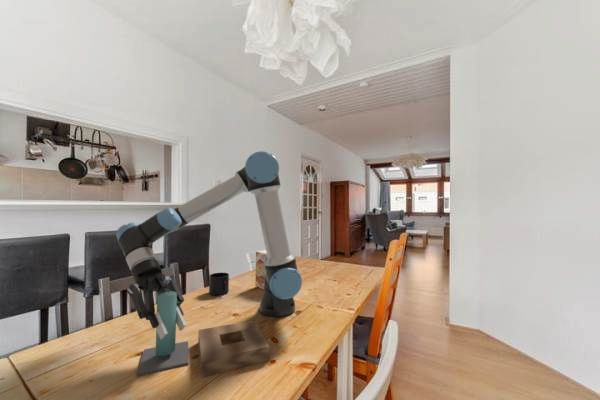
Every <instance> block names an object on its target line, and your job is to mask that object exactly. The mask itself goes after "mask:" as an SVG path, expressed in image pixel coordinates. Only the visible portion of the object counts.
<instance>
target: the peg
mask: <svg viewBox="0 0 600 400" xmlns="http://www.w3.org/2000/svg"><path fill="white" fill-rule="evenodd" d="M176 305H177V293H176V292H173V291H170V292H163V293H160V294H159V293H157V297H156V313H158V312H159V314H160V317H161V319H162V321H163V323H164V326H165V328H166V330H167V335H166V336H165V337H164V338H163V339H160V337H159V334H158V332H157V330H156V329H155V331H156V332H155V347H156V355H159V356H164V355H168V354H170V353H172V352H173V351H174V350H175V343H176V336H177V334H176V331H177V329H176V328H177V323H176Z"/></svg>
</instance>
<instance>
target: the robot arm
mask: <svg viewBox="0 0 600 400" xmlns="http://www.w3.org/2000/svg"><path fill="white" fill-rule="evenodd" d="M244 165H245V166H244V167H243V168H241V169H240V170H237V171H236V172H235V175H234V176H232V177H230V178H229V179H227V180H225V181H223V182H221V183H219V184H218V185H216V186H214V187H212V188H210V189H208V190H207V191H204V192H202V193H201V194H199V195H197V196H196V197H194V198H192V199H190V200H189V201H187V202H185V203H182V204H181V205H179V206H177V207H176V208H175V207H174V208H172V207H170V206H169V207H165V208H164V209H163V210H159V211H158V212H157V213H155V214H154V215H152V216H150V217H149V218H148V219H146V220H145V221H143V222H142V223H138V222H129V223H127V224H123V225H121V226H119V228H118V229H117V230H116V233H115V236H116V238H117V242H118V243H117V244H118V245H119V247H120V249H121V251H122V253H123V256H124V257H125V261H126V263H127V266H128V268H129V270H130V273H131V276H132V277H133V280H134V284H133V283H132V284H129V286H128V288H127V289H126V293H127V294H128V295H129V296H130V297H131V300H132V304H133V305H134V308H135V310H136V313H137V315H138V318H139V319H140V320H143V319H145V320H146V321H149V323H150V326H151V328H152V329H155V331H156V330H157V332H158V334H159V337H160V339H163V338H164V337H165V336H166V335H167V330H166V328H165V326H164V323H163V321H162V319H161V317H160V314H159V312H158V313H157V312H156V308H155V301H154V293H153V292H157V294H160V293H163V292H170V291H173V292H176V293H177V305H176V327H178V330H179V331H180V332H181V331H183V330H184V329H185V327H186V326H187V323H186V320H185V319H184V317H183V316H184V311H183V309H182V307H181V305H182V304H183V302H184V301H185V298H184V296H183V294H182V292H181V291H180V289H179V288H180V287H179V286H178V284H177V282H176V279H175V278H176V277H175V275H174V274H171V275H170V276H168V275H167V276H166V275H165V274H164V273H163V272H162V268H161V266H160V263H159V262H158V260H157V257H156V255H155V253H154V251H153V249H152V247H151V245H152V244H154V243H155V242H156V241H158V240H160V239H161V238H163V237H164V236H167V235H168V234H171V233H174V232H176V231H179V230H180V229H182V228H183V227H185V226H186V225H188V224H190V223H192V222H193V221H195V220H197V219H199V218H200V217H202V216H204V215H205V214H208V213H209V212H211V211H213V210H214V209H217V208H218V207H220V206H222V205H223V204H225V203H227V202H229V201H231V200H233V199H234V198H236V197H238V196H240V195H241V194H243V193H250V194H253V195H254V197H255V198H254V199H255V203H256V206H257V207H256V208H257V212H258V216H259V217H258V218H259V222H260V226H261V227H260V228H261V232H262V236H263V237H262V238H263V240H264V241H263V242H264V247H265V250H266V252H267V256H266V257H265V262H264V264H265V272H264V290H263V294H262V296H261V300H260V303H259V312H260V314H262V315H264V316H267V317H274V318H275V317H277V318H278V317H280V316H281V317H286V315H287V316H289V314H290V315H292V314H293V313H294V312H295V311H296V303H295V299H294V297H296V296H297V295H298V293H299V292H300V290H301V289H302V285H303V278H302V274H301V272H299V270H298V265H297V260H296V256H295V255H294V254H292V253H291V252H290V246H289V240H288V237H287V236H288V235H287V231H286V226H285V222H284V215H283V212H282V207H281V201H280V195H279V192H278V191H279V189H280V188H281V182H280V177H279V173H280V165H279V162H278V160H277V157H275V156H274V155H273V154H272V153H270V152H268V151H264V150H261V151H255V152H254V153H252V154H250V156H248V158H247V159H246V161H245V164H244ZM139 289H140V290H139ZM141 291H142V292H143V297H144V300H143V297H142V295H141ZM144 301H145V302H144ZM291 313H292V314H291Z"/></svg>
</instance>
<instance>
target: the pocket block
mask: <svg viewBox="0 0 600 400" xmlns="http://www.w3.org/2000/svg"><path fill="white" fill-rule="evenodd" d="M197 342H198V354H199V356H198V357H199V364H200V365H199V366H200V376H201V378H205V377H209V376H212V375H216V373H217V374H220V372H221V373H225V372H228V371H232V370H237V369H241V368H245V367H250V366H253V365H256V364H261V363H264V361H266V362H269V361H270V347H271V346H270V344H269V343H268V341H267V340H266V338H265V336H264V334H263V333H262V330H261V329H260V328H259V326H258V325H257V323H256V322H255V319H252V320H247V321H242V322H237V323H231V324H225V325H219V326H213V327H207V328H202V329H198V340H197ZM268 360H269V361H268ZM252 364H253V365H252Z"/></svg>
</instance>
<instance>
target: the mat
mask: <svg viewBox="0 0 600 400" xmlns="http://www.w3.org/2000/svg"><path fill="white" fill-rule="evenodd" d="M183 366H189V340H187V341H181V342H175V350H174V351H173V352H172V353H170V354H168V355H164V356H159V355H156V346H155V347H154V346H153V347H150V348H145V349H143V351H142V356H141V359H140V362H139V365H138V370H137V372H136V377H139V376H143V375H147V374H152V373H157V372H161V371H165V370H169V369H175V368H180V367H183Z"/></svg>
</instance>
